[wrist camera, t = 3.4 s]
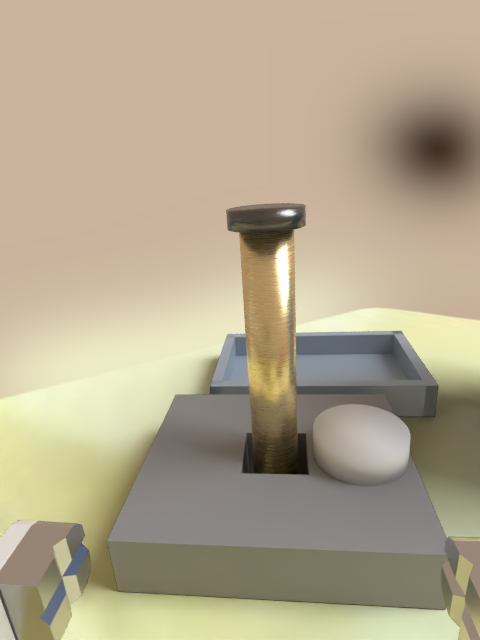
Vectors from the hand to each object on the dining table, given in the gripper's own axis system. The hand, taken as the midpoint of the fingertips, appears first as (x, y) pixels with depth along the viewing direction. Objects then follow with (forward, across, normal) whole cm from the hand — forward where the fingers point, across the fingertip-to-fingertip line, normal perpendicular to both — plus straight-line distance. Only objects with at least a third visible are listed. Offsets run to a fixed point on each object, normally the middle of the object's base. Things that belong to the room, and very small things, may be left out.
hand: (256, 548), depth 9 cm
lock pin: (+12, 0, -10) cm, 15 cm away
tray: (+25, +3, -10) cm, 27 cm away
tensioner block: (+12, 0, -10) cm, 15 cm away
